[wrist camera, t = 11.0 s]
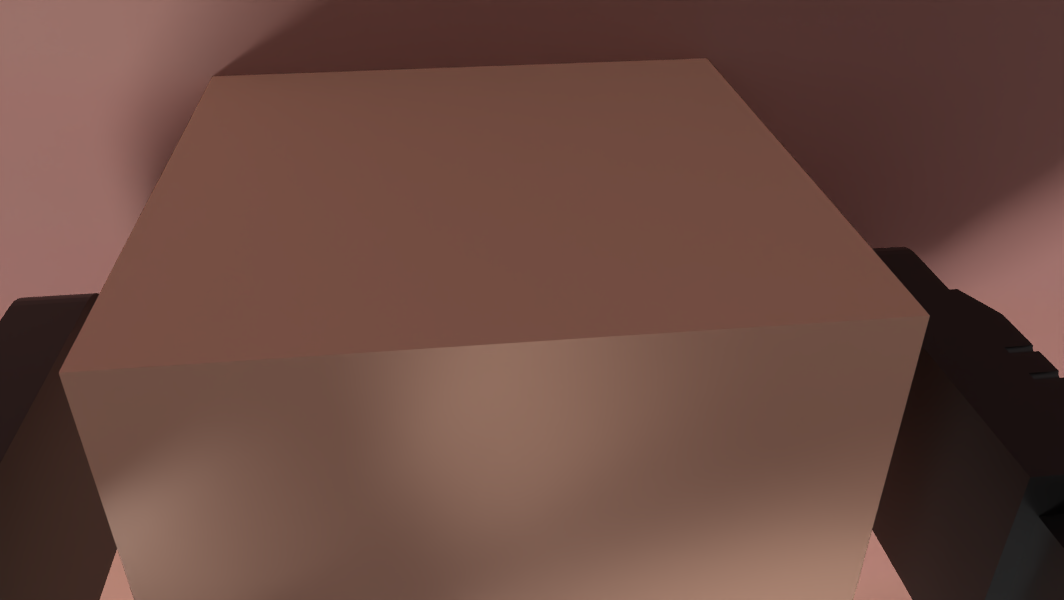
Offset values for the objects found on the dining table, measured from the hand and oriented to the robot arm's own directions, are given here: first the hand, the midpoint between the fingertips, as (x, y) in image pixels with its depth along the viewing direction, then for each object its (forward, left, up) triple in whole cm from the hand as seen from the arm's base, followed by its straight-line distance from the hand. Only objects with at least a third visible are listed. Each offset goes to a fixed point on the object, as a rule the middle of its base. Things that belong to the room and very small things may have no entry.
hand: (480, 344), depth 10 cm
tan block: (0, 0, -1) cm, 1 cm away
